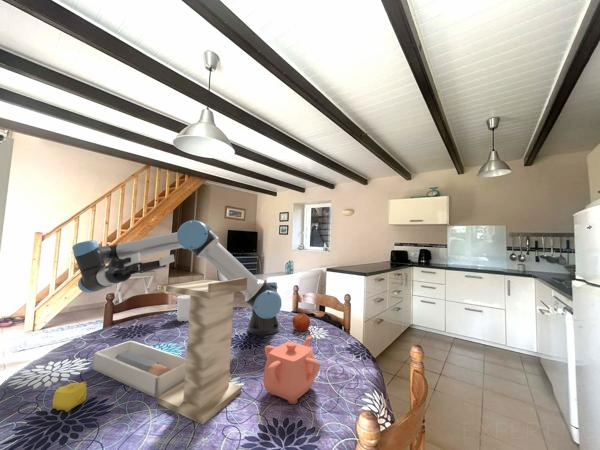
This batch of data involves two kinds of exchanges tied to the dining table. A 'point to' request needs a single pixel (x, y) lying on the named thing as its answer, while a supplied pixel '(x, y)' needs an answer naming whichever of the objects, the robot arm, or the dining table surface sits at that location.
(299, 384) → the teapot
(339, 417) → the dining table surface
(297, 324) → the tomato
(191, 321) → the wooden pedestal stand
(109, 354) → the tray
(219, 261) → the robot arm
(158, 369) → the grey long square-ended piece
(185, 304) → the candle holder
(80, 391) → the toy block
